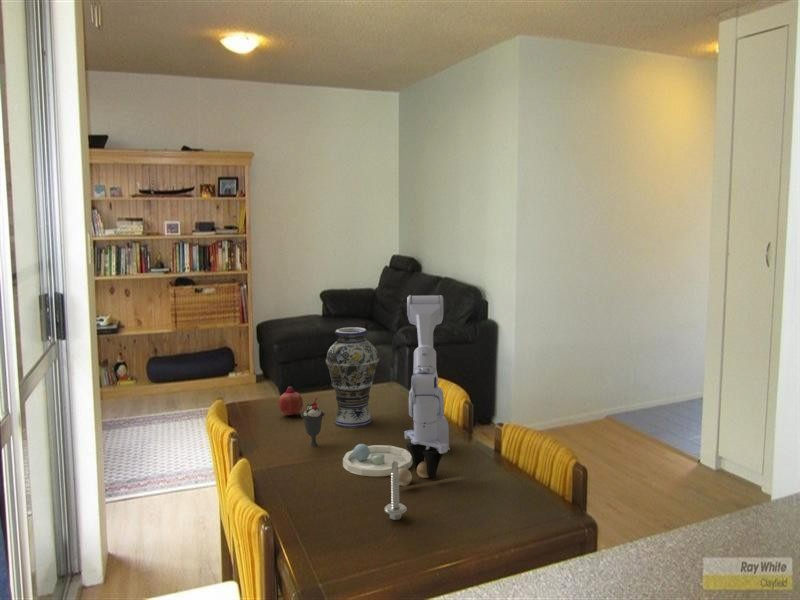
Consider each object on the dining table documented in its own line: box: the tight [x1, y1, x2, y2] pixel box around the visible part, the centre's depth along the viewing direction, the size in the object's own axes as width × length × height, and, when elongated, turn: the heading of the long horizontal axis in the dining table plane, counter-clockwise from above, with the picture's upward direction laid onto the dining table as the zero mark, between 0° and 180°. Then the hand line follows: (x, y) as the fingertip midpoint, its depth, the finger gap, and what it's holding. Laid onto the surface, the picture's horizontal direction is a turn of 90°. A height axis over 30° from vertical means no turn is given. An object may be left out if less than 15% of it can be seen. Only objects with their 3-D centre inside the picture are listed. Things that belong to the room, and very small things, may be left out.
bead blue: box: [352, 443, 370, 461], centre depth 177 cm, size 4×4×4 cm
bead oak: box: [416, 460, 431, 479], centre depth 167 cm, size 4×4×4 cm
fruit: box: [277, 385, 304, 417], centre depth 220 cm, size 8×8×10 cm
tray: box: [342, 444, 413, 477], centre depth 176 cm, size 18×18×3 cm
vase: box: [325, 326, 380, 429], centre depth 211 cm, size 17×17×30 cm
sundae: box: [300, 397, 326, 448], centre depth 189 cm, size 7×7×15 cm
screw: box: [384, 461, 407, 521], centre depth 145 cm, size 13×5×5 cm
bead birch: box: [398, 468, 413, 488], centre depth 162 cm, size 4×4×4 cm
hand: (425, 472), depth 167 cm, fingers closed on bead oak, 4 cm apart
